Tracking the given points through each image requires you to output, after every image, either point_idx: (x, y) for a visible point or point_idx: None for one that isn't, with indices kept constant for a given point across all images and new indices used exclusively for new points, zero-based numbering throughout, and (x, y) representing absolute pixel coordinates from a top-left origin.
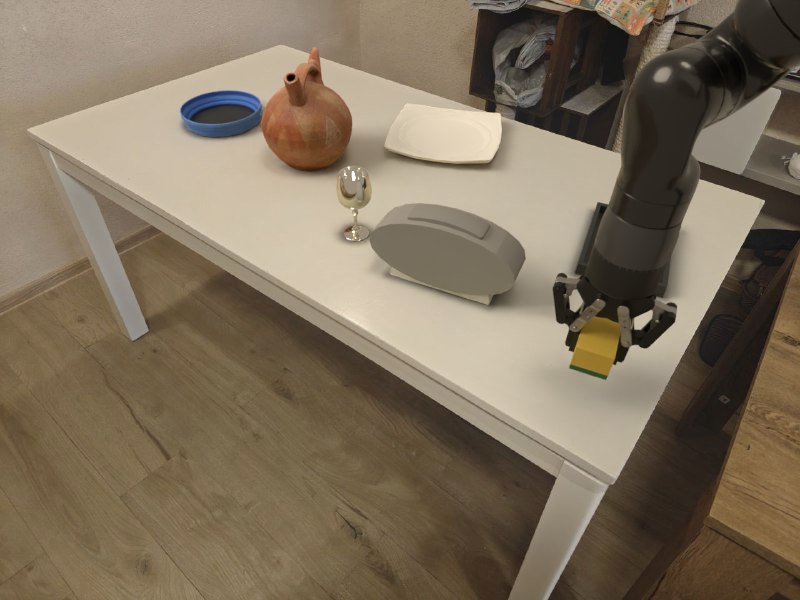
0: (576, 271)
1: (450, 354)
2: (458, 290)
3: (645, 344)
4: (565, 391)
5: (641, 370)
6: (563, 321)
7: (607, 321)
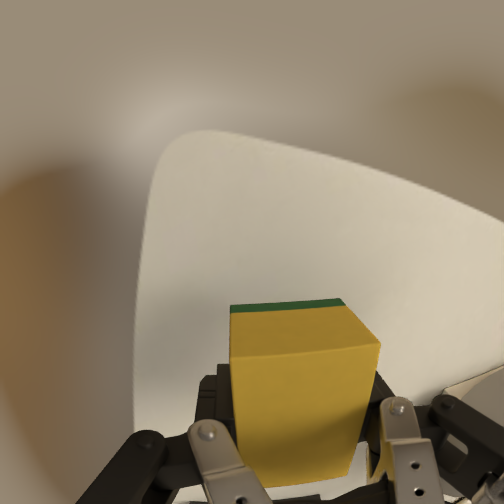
0: (318, 498)
1: (487, 261)
2: (489, 379)
3: (139, 445)
4: (299, 281)
5: (170, 392)
6: (438, 405)
7: (285, 473)
